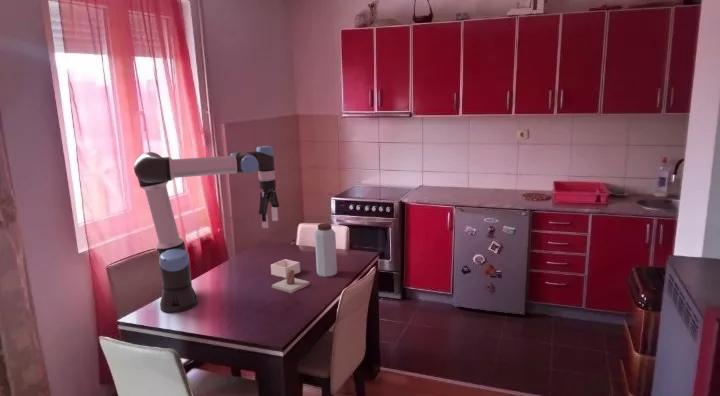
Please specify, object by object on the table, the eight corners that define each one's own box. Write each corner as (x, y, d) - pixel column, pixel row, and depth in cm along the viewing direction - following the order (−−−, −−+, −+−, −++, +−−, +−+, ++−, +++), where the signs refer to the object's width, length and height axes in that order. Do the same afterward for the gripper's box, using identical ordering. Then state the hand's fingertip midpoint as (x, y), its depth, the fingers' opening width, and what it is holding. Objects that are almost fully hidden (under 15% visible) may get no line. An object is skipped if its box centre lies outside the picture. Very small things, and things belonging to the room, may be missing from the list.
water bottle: (338, 271, 251) (336, 222, 246) (335, 278, 241) (333, 227, 236) (318, 271, 252) (316, 222, 247) (315, 278, 242) (312, 227, 238)
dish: (286, 279, 243) (285, 268, 242) (271, 275, 249) (270, 264, 247) (300, 272, 251) (299, 262, 249) (285, 269, 256) (285, 259, 255)
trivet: (291, 294, 224) (291, 293, 224) (270, 288, 231) (270, 287, 231) (311, 285, 234) (310, 283, 234) (290, 279, 242) (290, 278, 242)
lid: (291, 292, 224) (290, 277, 223) (272, 287, 231) (271, 272, 230) (309, 284, 234) (308, 269, 232) (290, 279, 241) (289, 264, 239)
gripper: (265, 184, 221) (268, 231, 225) (283, 175, 245) (286, 217, 249) (249, 184, 222) (252, 231, 226) (268, 175, 246) (271, 217, 251)
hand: (270, 224), depth 238 cm, fingers open, 13 cm apart
